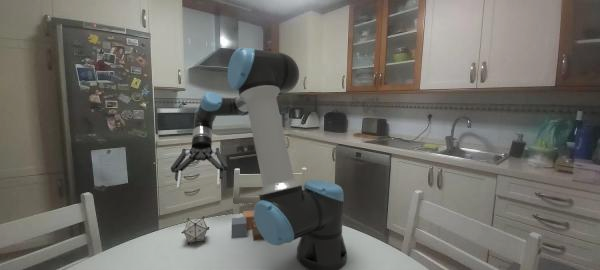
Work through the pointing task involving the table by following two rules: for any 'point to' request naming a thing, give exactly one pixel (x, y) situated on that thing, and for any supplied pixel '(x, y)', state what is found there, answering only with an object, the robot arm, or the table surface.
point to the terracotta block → (249, 218)
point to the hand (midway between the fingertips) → (198, 187)
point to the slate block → (239, 227)
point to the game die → (195, 230)
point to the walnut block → (256, 232)
